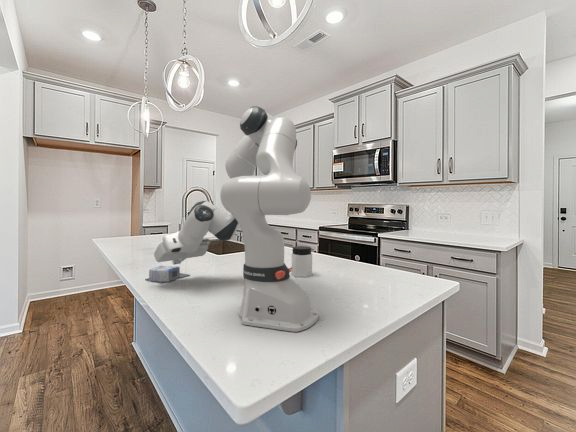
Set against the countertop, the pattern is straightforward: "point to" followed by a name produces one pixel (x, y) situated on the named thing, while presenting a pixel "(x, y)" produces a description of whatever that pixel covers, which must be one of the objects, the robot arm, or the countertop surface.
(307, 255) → the jar
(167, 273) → the medicine box
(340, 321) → the countertop surface
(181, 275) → the mat
